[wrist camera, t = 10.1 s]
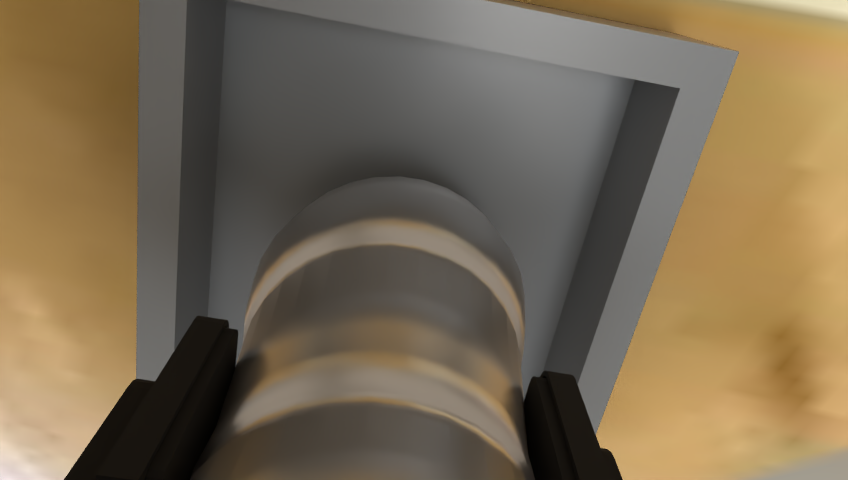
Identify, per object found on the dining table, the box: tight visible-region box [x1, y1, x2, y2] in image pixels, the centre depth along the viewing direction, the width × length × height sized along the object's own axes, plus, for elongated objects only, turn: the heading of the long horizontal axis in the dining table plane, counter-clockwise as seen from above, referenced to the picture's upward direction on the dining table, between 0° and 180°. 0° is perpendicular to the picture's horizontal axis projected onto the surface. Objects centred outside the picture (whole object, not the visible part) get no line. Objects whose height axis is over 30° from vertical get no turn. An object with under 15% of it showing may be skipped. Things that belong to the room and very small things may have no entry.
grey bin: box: [136, 0, 739, 435], centre depth 18 cm, size 15×13×4 cm
